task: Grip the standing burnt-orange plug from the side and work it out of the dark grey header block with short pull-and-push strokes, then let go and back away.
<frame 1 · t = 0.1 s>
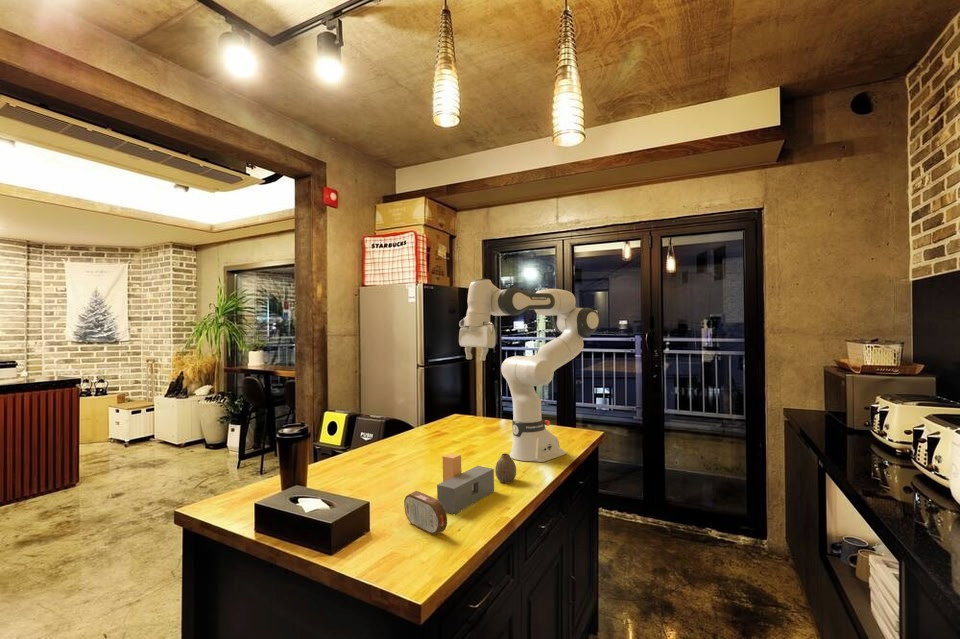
hand: (475, 359, 164), 39 cm above the counter, tool pointing down, fingers open, 8 cm apart
plug: (458, 477, 134), point 6 cm above the counter, slide at 0.0 cm
header: (452, 496, 135), on the counter
tin: (424, 529, 114), on the counter
vase: (506, 481, 148), on the counter
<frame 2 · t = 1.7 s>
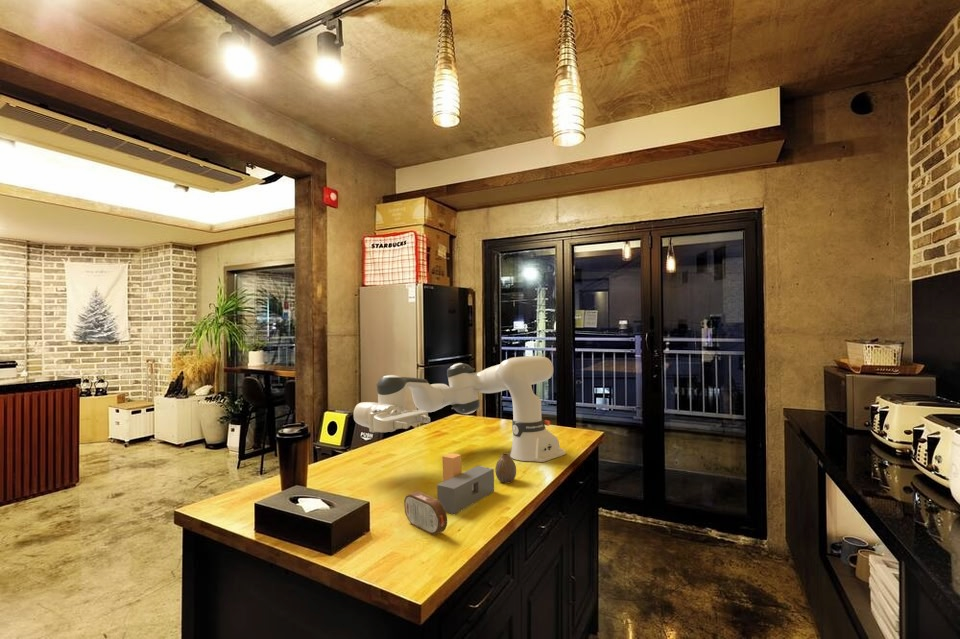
hand: (418, 422, 144), 21 cm above the counter, tool horizontal, fingers open, 8 cm apart
nothing on the counter moved.
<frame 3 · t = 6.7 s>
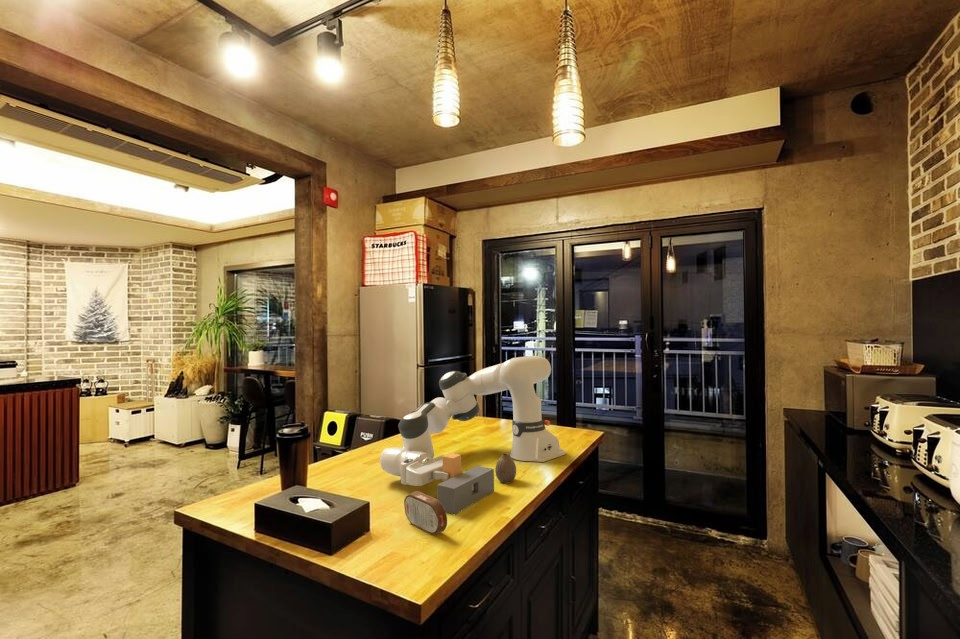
hand: (454, 473, 135), 7 cm above the counter, tool horizontal, fingers closed on plug, 4 cm apart
plug: (458, 477, 134), point 6 cm above the counter, slide at 0.0 cm, touching gripper
everything else where it was.
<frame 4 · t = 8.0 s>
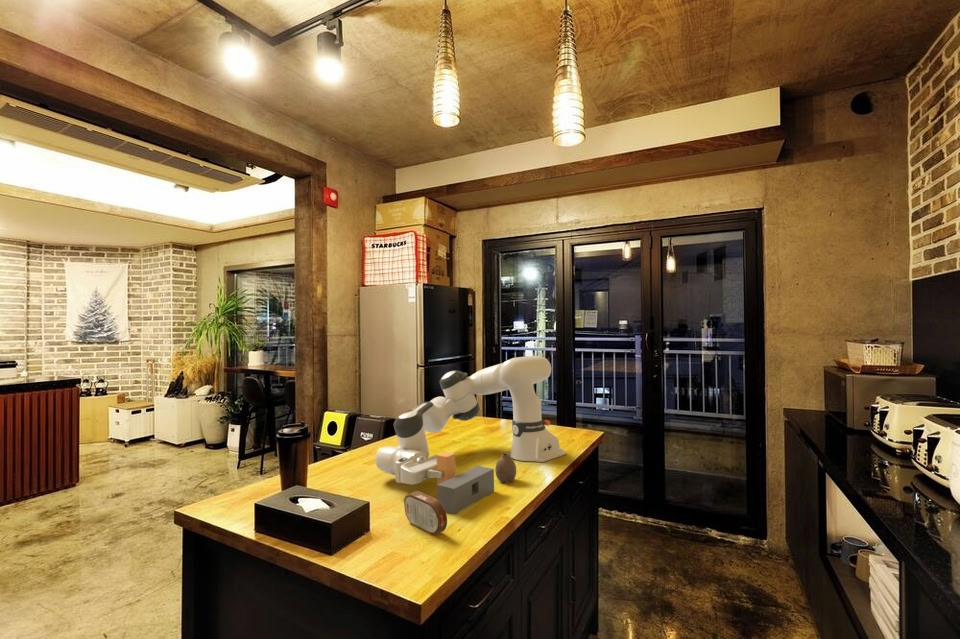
hand: (448, 472, 136), 7 cm above the counter, tool horizontal, fingers closed on plug, 4 cm apart
plug: (452, 475, 135), point 6 cm above the counter, slide at 2.3 cm, touching gripper
everything else where it was.
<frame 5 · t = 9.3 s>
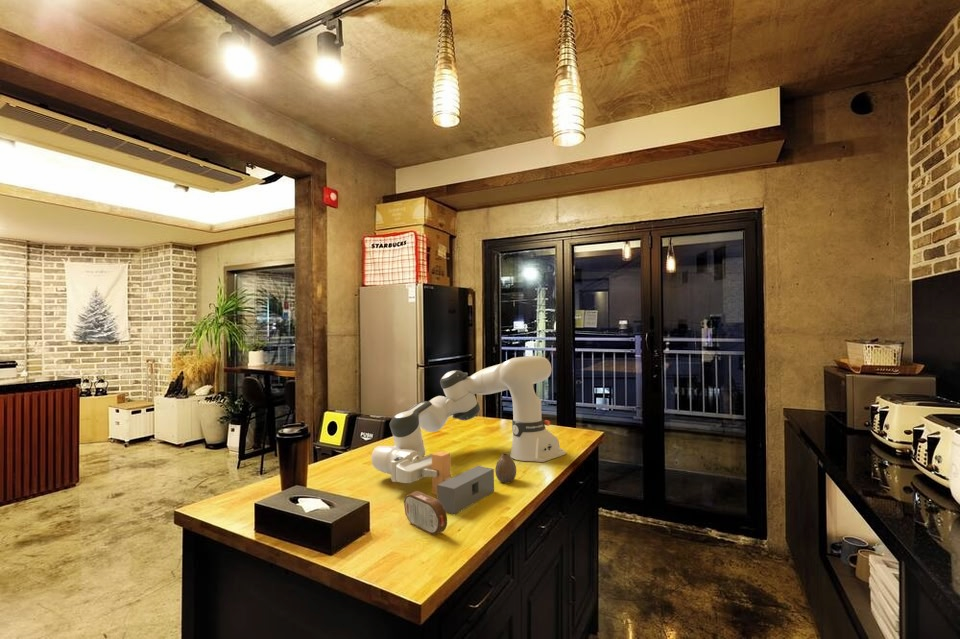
hand: (443, 471, 137), 7 cm above the counter, tool horizontal, fingers closed on plug, 4 cm apart
plug: (447, 474, 136), point 6 cm above the counter, slide at 4.2 cm, touching gripper
everything else where it was.
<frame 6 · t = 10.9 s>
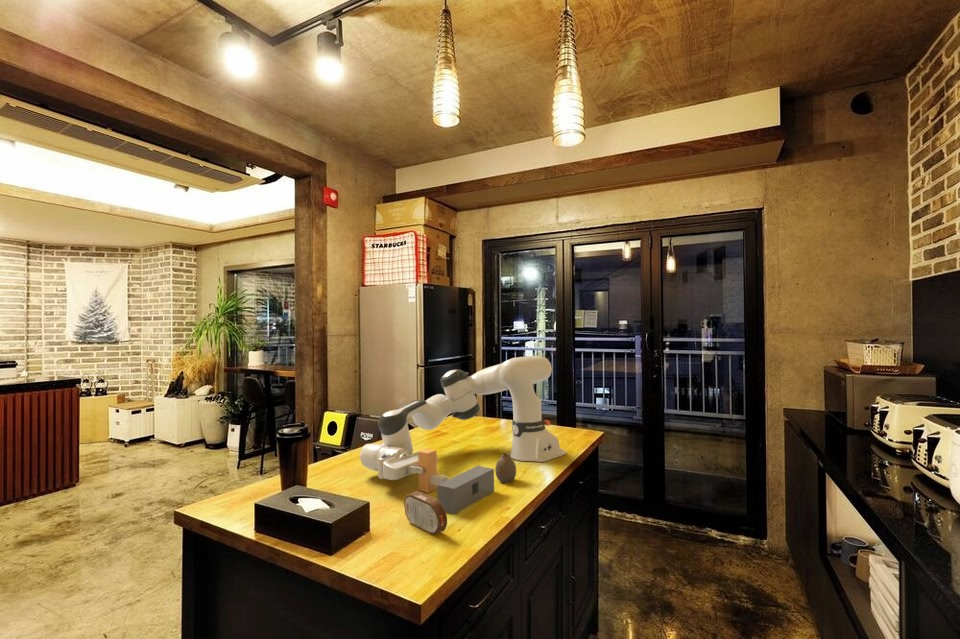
hand: (429, 468, 140), 7 cm above the counter, tool horizontal, fingers closed on plug, 4 cm apart
plug: (433, 471, 140), point 6 cm above the counter, slide at 9.9 cm, touching gripper
everything else where it was.
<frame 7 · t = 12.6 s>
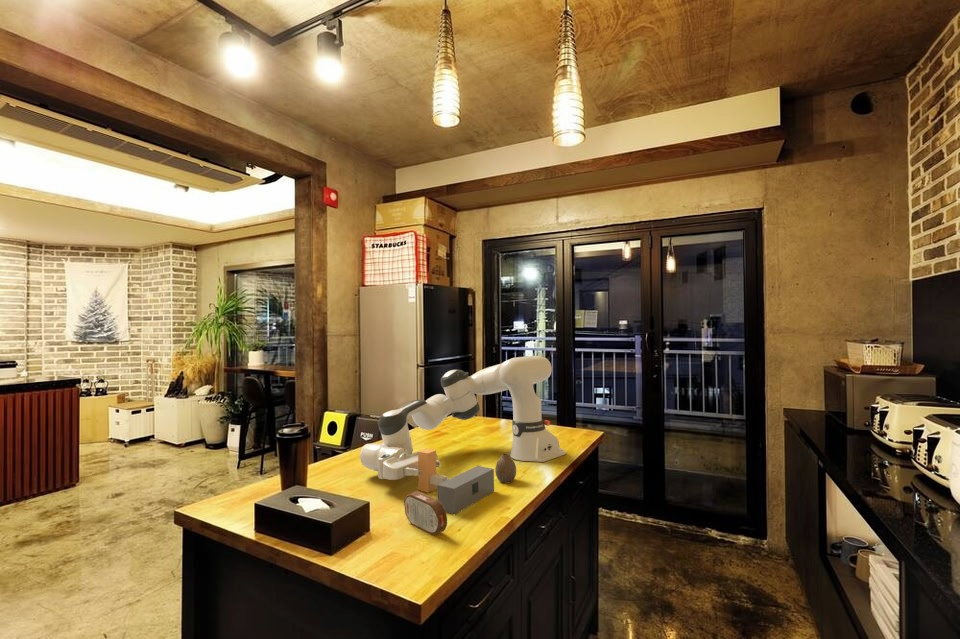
hand: (429, 468, 141), 7 cm above the counter, tool horizontal, fingers open, 8 cm apart
plug: (433, 471, 140), point 6 cm above the counter, slide at 9.9 cm
everything else where it was.
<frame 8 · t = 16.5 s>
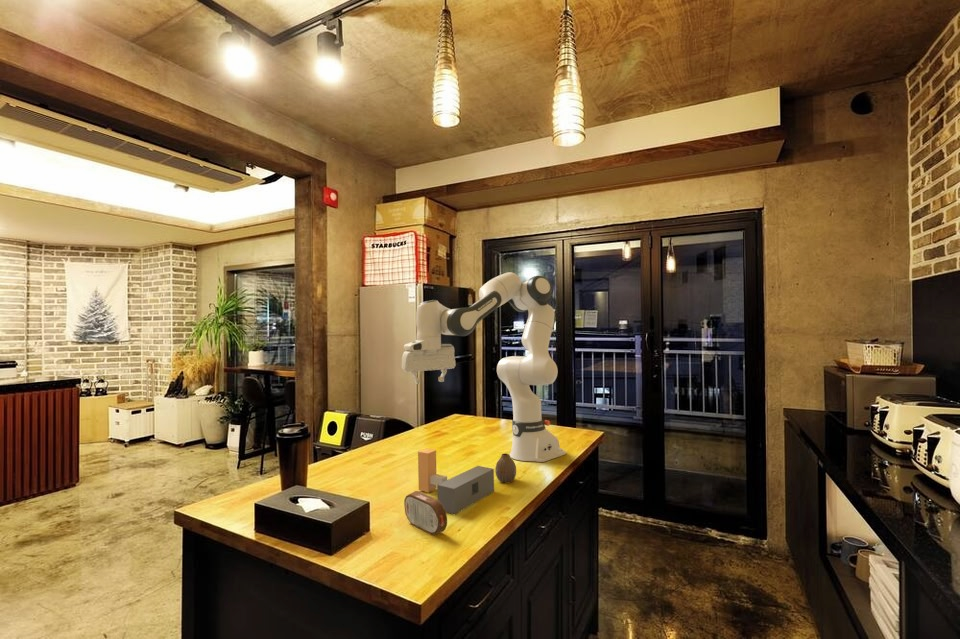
hand: (429, 382, 163), 31 cm above the counter, tool pointing down, fingers open, 8 cm apart
nothing on the counter moved.
at the end: plug slide at 9.9 cm; the gripper is holding nothing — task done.
